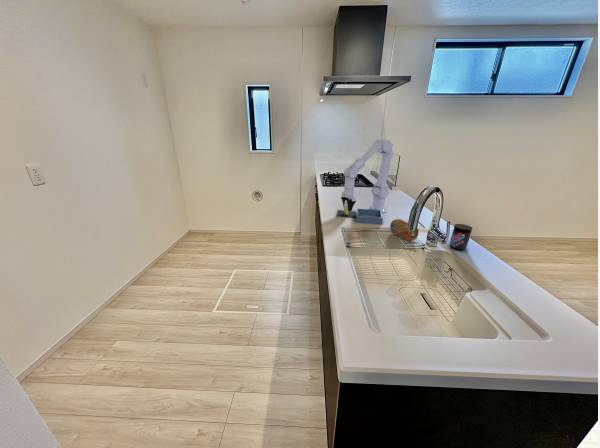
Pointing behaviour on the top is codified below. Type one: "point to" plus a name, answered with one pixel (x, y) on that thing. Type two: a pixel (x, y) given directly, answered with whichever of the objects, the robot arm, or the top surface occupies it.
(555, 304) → the top surface
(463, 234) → the supplement container
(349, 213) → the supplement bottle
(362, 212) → the crate
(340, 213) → the mat
